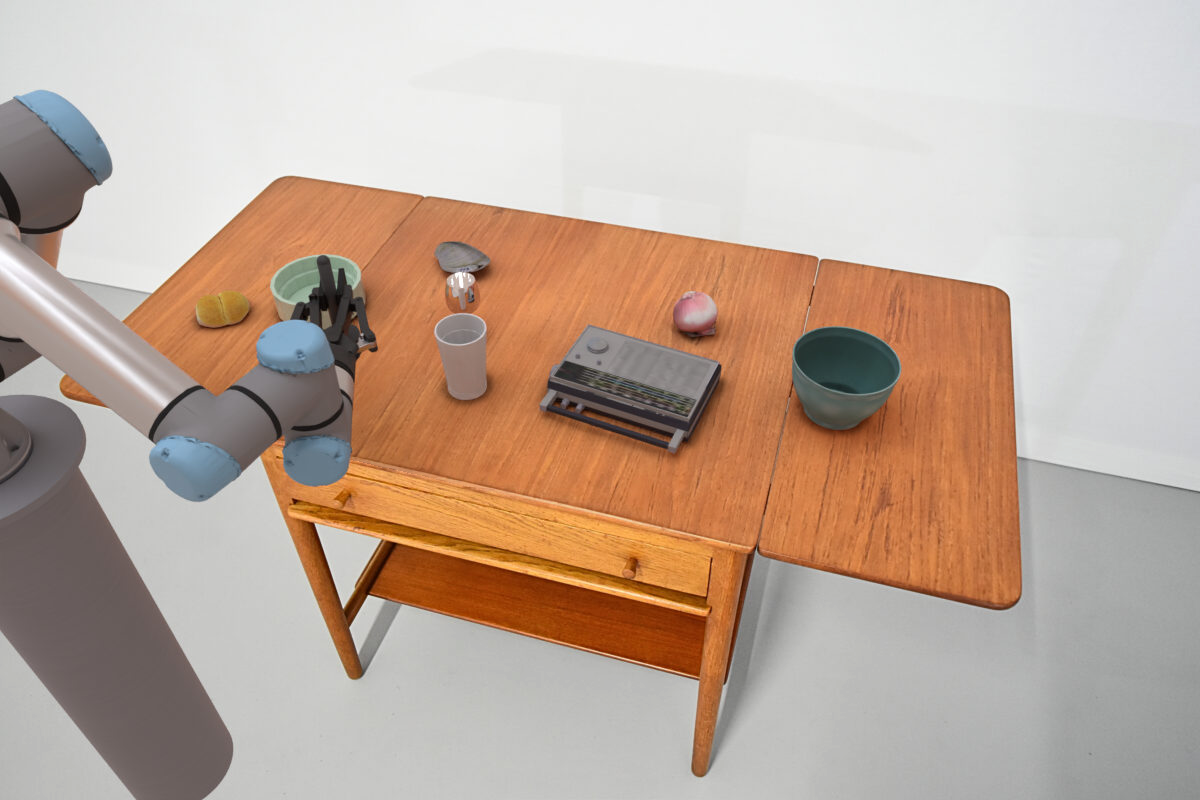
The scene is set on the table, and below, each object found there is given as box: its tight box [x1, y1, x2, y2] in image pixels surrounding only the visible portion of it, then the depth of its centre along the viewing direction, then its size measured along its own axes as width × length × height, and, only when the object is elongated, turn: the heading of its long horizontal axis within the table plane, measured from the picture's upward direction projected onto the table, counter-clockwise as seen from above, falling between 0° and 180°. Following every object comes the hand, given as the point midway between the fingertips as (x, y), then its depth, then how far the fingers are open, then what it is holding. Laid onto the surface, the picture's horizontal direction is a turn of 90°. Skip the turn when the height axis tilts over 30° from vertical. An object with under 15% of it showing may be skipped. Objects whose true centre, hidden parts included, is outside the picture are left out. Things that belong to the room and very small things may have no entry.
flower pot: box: [791, 325, 902, 431], centre depth 139 cm, size 16×16×11 cm
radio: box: [538, 323, 722, 454], centre depth 143 cm, size 24×5×20 cm
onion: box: [672, 290, 719, 338], centre depth 155 cm, size 8×8×7 cm
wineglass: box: [444, 272, 481, 314], centre depth 151 cm, size 6×6×12 cm
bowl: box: [269, 253, 367, 331], centre depth 159 cm, size 15×15×6 cm
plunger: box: [316, 254, 363, 355], centre depth 128 cm, size 6×6×17 cm
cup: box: [433, 313, 488, 401], centre depth 142 cm, size 8×8×12 cm
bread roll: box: [194, 290, 251, 329], centre depth 158 cm, size 8×9×4 cm
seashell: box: [433, 240, 492, 274], centre depth 168 cm, size 12×8×5 cm
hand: (334, 276), depth 132 cm, fingers closed on plunger, 2 cm apart
